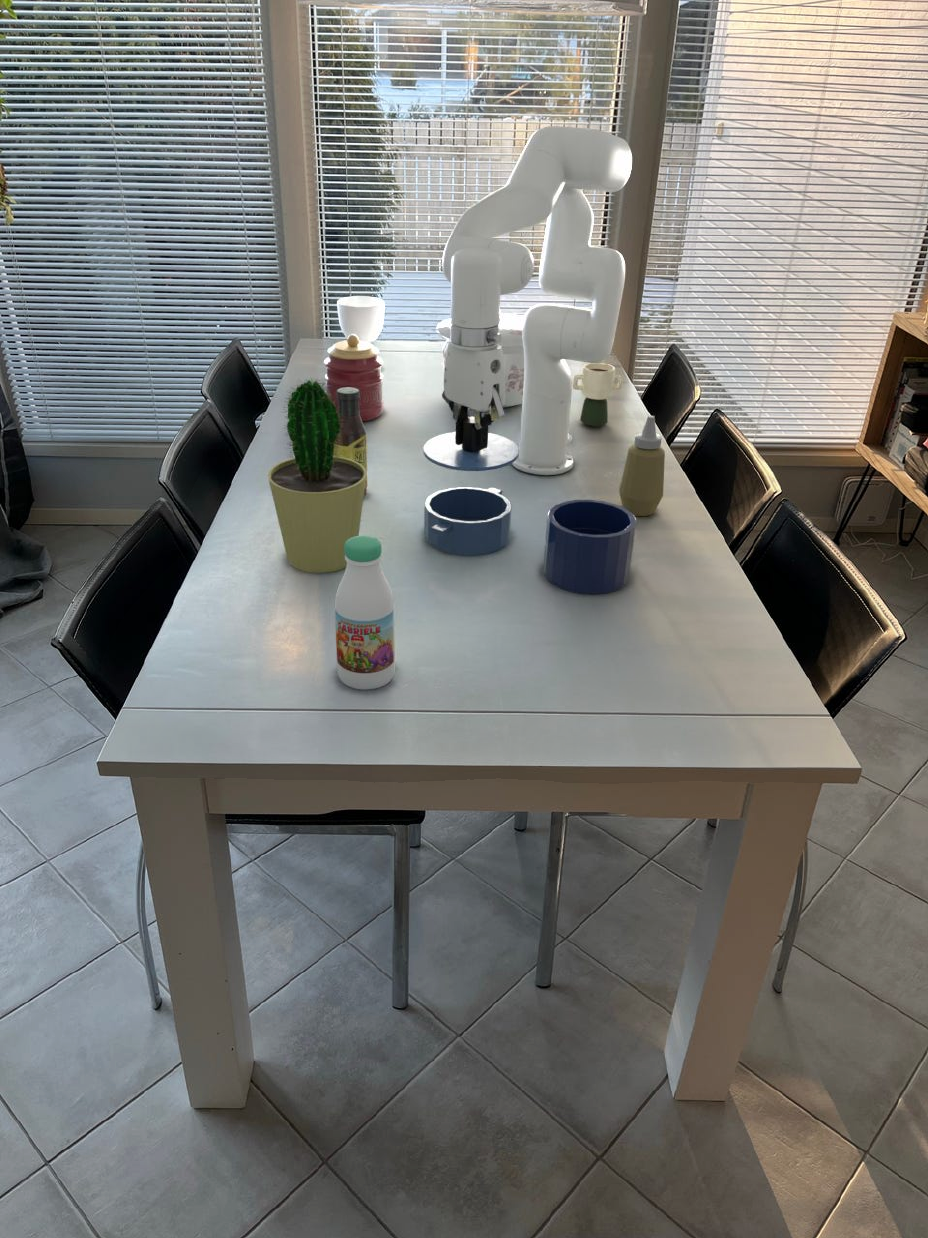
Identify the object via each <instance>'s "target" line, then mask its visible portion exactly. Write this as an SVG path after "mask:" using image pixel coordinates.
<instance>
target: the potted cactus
mask: <svg viewBox="0 0 928 1238" xmlns="http://www.w3.org/2000/svg"><path fill="white" fill-rule="evenodd" d="M310 379H311V380H310ZM310 379H309V380H305V381H304V382H303V383H302V382H301V380H300V379H298V380H296V382H297V383H298V385H296V388H295V387H292V388H291V389H289V391H287V390H286V392H287V393H289V392H290V393H289V394H288V397H285V396H284V397H285V398H284V399H286V400H287V401H285V400H284V402H285V403H286V404H285V403H284V405H286V406H287V409H284V408H283V410H284V411H283V412H282V414H283V413H287V415H286V416H285V419H287V420H288V421H284V423H285V422H286V424H285V428H284V431H286V432H285V433H284V436H285V437H289V440H290V442H287V443H286V444H287V446H288V445H289V446H288V450H291V449H292V451H291V456H293V458H289V457H290V455H289V456H288V455H287V458H289V459H286V460H283V461H280V462H279V463H277V464H275V465H274V466H273V467H271V468H270V470H269V471H268V473H267V478H268V482H269V487H270V492H271V496H272V500H273V504H274V508H275V512H276V516H277V521H278V525H279V529H280V534H281V538H282V542H283V547H284V551H285V554H286V558H287V559H286V560H287V561H288V563H289V564H290V565H291V566H292V567H293V568H295V569H296V570H300V571H303V572H306V573H307V572H308V573H317V574H319V573H320V574H321V573H332V572H336V571H340V570H343V569H346V566H347V561H346V560H345V549H344V548H345V542H346V541H347V540H348V539H350V538H352V537H355V536H360V529H361V519H362V511H363V506H364V505H363V504H364V497H365V496H364V489H365V480H366V476H367V477H368V470H367V471H366V468H365V467H364V466H363V465H361V464H360V463H358V462H356V461H354V460H351V459H348V458H344V457H339V456H337V455H336V454H335V455H336V456H335V455H334V452H335V451H334V448H335V449H338V448H336V447H337V446H338V445H337V444H335V445H337V446H336V447H334V441H335V440H338V439H339V438H338V439H336V438H337V437H340V436H337V434H338V433H339V432H340V433H341V430H340V428H343V427H346V426H343V427H340V425H341V424H340V423H339V418H338V416H340V414H341V413H340V414H339V415H338V413H337V412H336V411H337V408H336V407H335V406H336V404H335V406H334V403H332V401H331V400H330V399H331V398H332V397H331V398H329V397H330V396H331V395H332V394H333V393H332V394H331V395H330V393H329V396H328V395H326V394H327V393H328V392H327V393H326V390H327V389H328V388H327V387H326V386H325V383H322V382H319V381H321V379H320V380H319V378H318V380H317V379H315V380H313V378H310ZM324 386H325V387H324ZM334 402H335V401H334ZM339 411H340V410H339ZM340 417H341V416H340ZM341 420H344V419H341ZM345 421H347V420H345ZM343 424H344V423H342V425H343ZM342 433H343V432H342ZM340 435H341V434H340ZM342 443H343V442H342ZM339 446H340V445H339ZM336 451H338V450H336ZM333 455H334V456H333Z"/></svg>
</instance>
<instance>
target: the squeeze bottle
mask: <svg viewBox="0 0 928 1238" xmlns="http://www.w3.org/2000/svg"><path fill="white" fill-rule="evenodd" d="M656 428H657V427H656V418H655V415H652V414H651V415H648V416H647V417H646V420H645V423H644V425H643V429H642V432H637V433H636V434H635V436H634V444H631V446H629V447H628V449H627V454H626V457H625V462H624V467H623V471H622V475H621V480H620V483H619V487H618V488H619V489H618V493H619V497H620V501H621V507H623V508H625V509H627V510H628V511H629V512H631V513H632V514H633V515H634V516H636V517H646V516H647V517H648V516H651V515H653V514H654V513H655V512H656V510H657V508H658V506H659V504H660V502H661V500H662V498H663V497H664V484H665V483H664V482H665V460H666V459H665V457H666V455H665V454H666V451H665V449H664V448H663V447H662V436H661V435H660V434H658V433H657V429H656Z"/></svg>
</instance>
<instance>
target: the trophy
mask: <svg viewBox="0 0 928 1238" xmlns="http://www.w3.org/2000/svg"><path fill="white" fill-rule="evenodd" d="M579 380H581V385H579ZM615 380H617V384H616V385H615ZM622 385H623V375H622V374H616V367H615V366H613V365H612V364H609V363H604V362H601V363H588V362H587V363H585V364H584V365H583V366H582V374H576V375H574V377H573V385H572V390H575V391H580V392H581V395H582V396H583V397H585V398H584V400H583V403H582V408H581V412H580V418H579V421H580V423H583V424H585V425H587V426H592V427H603V426H605V425H606V424H608V421H609V420H608V419H609V413H608V412H609V410H608V400H607V399H610V398H611V397H612V396H613V393H614V390H615V391H617V390H618V391H619V390H621V389H622Z"/></svg>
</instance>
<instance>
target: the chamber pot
mask: <svg viewBox="0 0 928 1238" xmlns="http://www.w3.org/2000/svg"><path fill="white" fill-rule="evenodd" d="M524 316H525V315H519V314H518V315H517V314H509V313H501V311H500V312H499V334H500V335H501V337H502V338H501V341H500V342H499V343H498V345H500V346H502V350H503V356H504V364H505V386H506V391H505V404H504V406H502V408H503V409H504V408H505V409H506V408H510V407H515V406H519V405H522V401H523V386H524V348H523V339H522V322H523V318H524ZM450 320H451V317H449V318H446V319H444V320H442V321H441V322H439V323H438V324H437V325H436V329H435V331H436V332H437V333H438V334H439V335H440V336H441V337H442V338H443V339H446V340H445V341H444V343H443V345H442V351H441V353H442V354H441V355H442V356H441V357H442V359H441V360H442V361H441V363H442V368H443V369H444V367H445V358H446V351H447V346H448V341H449V339H450V322H451V321H450Z"/></svg>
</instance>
